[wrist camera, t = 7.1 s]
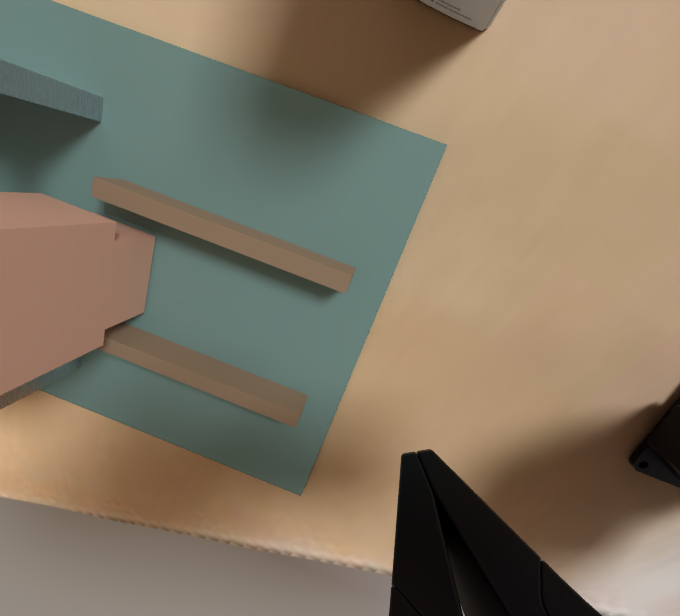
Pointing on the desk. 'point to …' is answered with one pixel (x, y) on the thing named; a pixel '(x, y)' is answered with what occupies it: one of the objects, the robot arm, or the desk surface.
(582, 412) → the desk surface
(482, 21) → the ink box
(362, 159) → the plate
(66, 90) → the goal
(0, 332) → the salmon orange block
